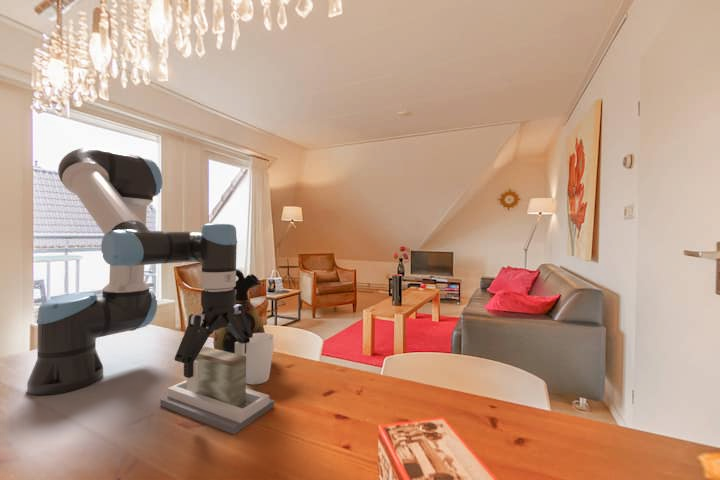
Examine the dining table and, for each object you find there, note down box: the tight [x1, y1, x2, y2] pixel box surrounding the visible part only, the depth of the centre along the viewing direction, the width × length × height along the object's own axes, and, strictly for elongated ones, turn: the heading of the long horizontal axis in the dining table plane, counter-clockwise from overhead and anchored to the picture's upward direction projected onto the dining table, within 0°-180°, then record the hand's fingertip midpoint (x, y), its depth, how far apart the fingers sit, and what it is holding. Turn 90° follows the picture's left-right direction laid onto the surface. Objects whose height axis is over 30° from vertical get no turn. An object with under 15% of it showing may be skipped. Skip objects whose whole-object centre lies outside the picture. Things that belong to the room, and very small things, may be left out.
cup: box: [245, 332, 275, 386], centre depth 90 cm, size 9×9×12 cm
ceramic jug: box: [212, 268, 266, 354], centre depth 101 cm, size 17×15×30 cm
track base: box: [159, 379, 275, 435], centre depth 75 cm, size 24×12×4 cm, turn 64°
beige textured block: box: [195, 346, 247, 407], centre depth 75 cm, size 14×4×11 cm, turn 64°
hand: (217, 378), depth 75 cm, fingers open, 13 cm apart
